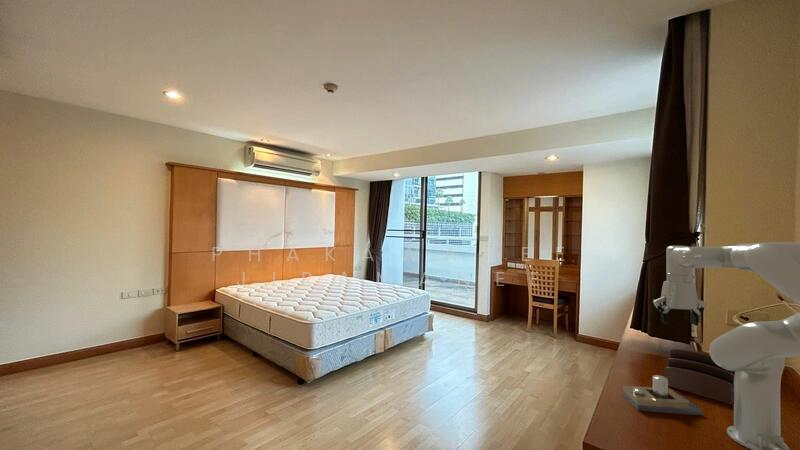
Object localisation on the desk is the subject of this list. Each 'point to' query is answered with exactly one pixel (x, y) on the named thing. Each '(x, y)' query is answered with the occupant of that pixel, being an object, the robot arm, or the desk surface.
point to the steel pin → (660, 387)
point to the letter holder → (699, 375)
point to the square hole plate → (659, 401)
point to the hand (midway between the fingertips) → (679, 323)
